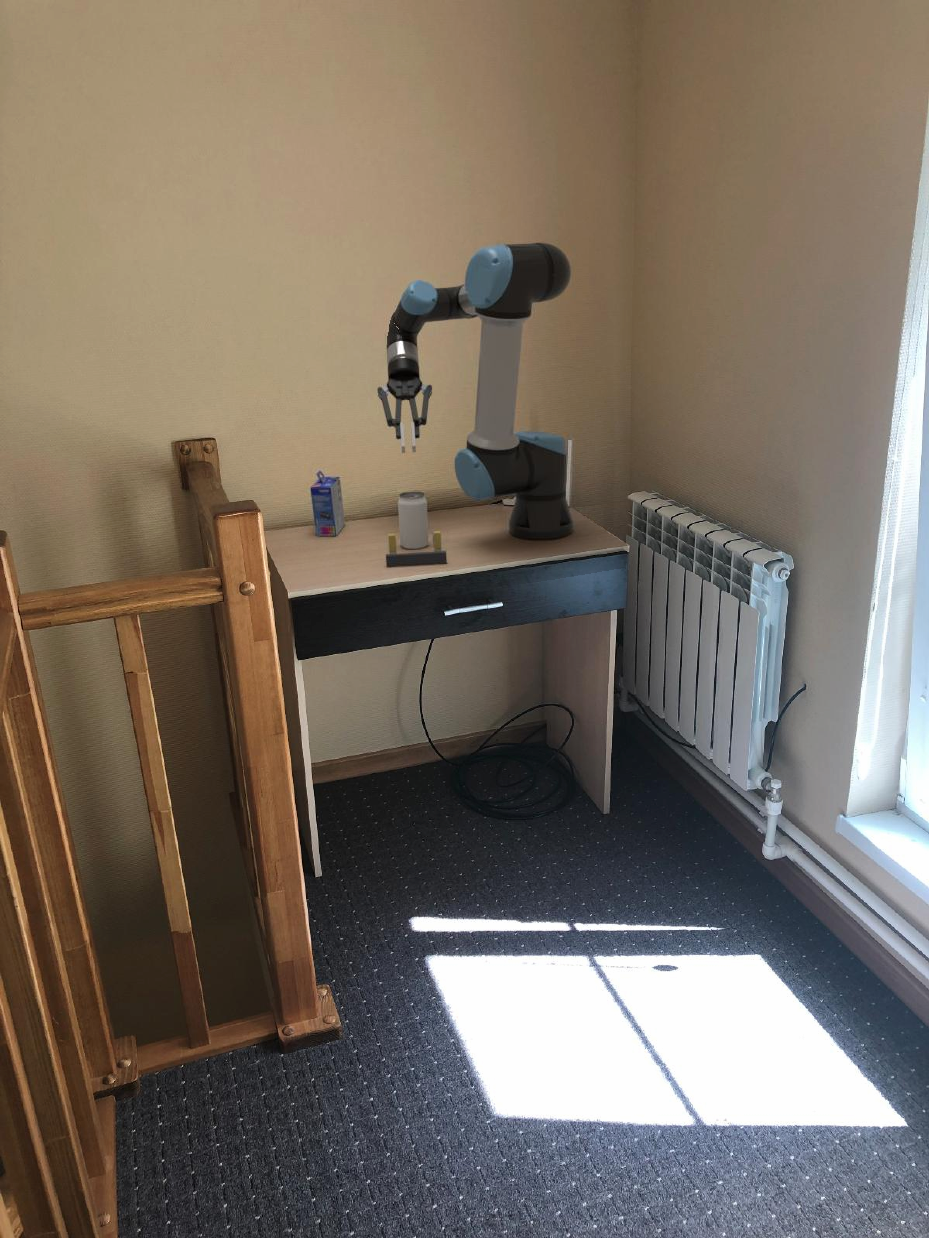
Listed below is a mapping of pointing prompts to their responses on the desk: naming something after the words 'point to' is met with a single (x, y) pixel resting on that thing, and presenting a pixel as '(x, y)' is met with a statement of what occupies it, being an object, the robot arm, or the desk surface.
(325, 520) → the ink cartridge box
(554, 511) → the robot arm
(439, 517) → the desk surface
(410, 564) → the u-shaped rail frame
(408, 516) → the can
